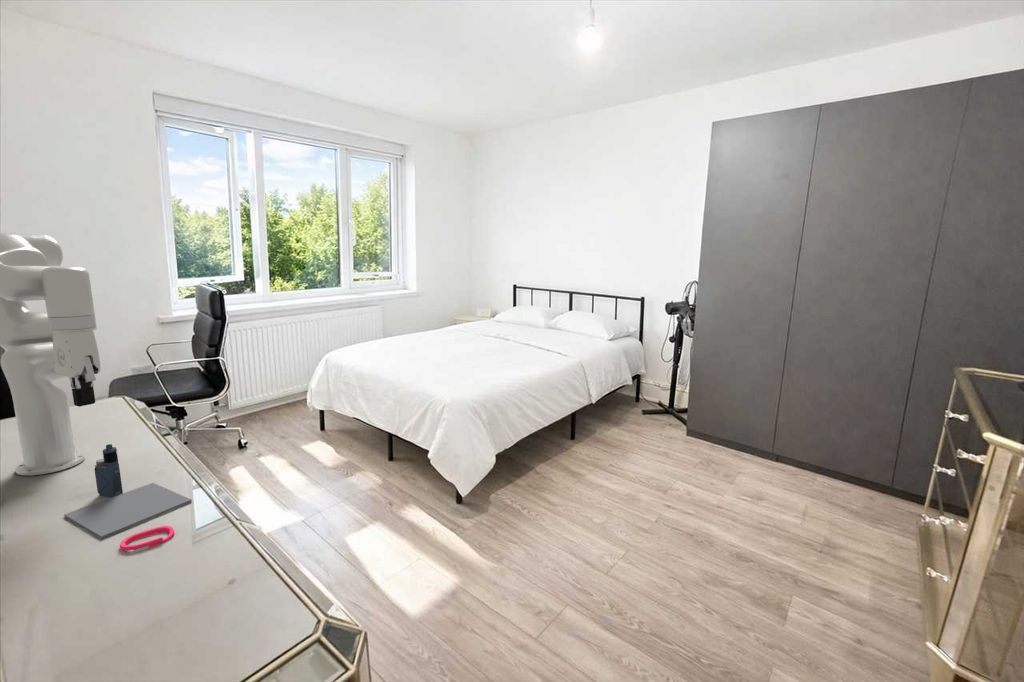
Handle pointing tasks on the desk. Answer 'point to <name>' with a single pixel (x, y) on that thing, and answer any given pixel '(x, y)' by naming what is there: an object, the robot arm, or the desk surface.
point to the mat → (126, 510)
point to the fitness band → (149, 543)
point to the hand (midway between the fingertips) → (85, 404)
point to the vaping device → (108, 473)
